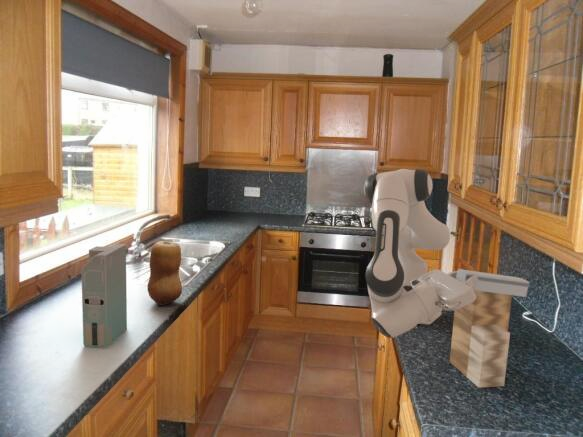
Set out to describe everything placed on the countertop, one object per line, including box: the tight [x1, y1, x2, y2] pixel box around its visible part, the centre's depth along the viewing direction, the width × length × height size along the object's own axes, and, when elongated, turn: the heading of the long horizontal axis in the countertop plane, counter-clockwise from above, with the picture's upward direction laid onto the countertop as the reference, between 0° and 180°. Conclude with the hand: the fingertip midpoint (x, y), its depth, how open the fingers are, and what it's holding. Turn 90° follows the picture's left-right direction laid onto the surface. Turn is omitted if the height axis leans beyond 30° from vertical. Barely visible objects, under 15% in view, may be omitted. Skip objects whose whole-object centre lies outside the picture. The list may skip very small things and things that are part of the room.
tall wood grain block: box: [449, 290, 513, 389], centre depth 152 cm, size 12×16×27 cm
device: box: [81, 243, 128, 349], centre depth 166 cm, size 16×8×30 cm, turn 176°
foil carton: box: [456, 268, 530, 298], centre depth 143 cm, size 20×4×4 cm, turn 102°
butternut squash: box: [147, 240, 183, 306], centre depth 202 cm, size 14×13×25 cm
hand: (470, 274), depth 141 cm, fingers closed on foil carton, 4 cm apart
